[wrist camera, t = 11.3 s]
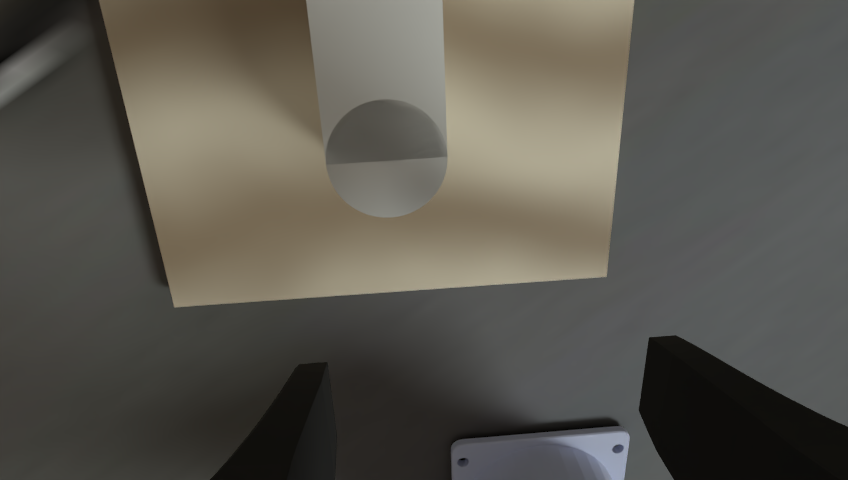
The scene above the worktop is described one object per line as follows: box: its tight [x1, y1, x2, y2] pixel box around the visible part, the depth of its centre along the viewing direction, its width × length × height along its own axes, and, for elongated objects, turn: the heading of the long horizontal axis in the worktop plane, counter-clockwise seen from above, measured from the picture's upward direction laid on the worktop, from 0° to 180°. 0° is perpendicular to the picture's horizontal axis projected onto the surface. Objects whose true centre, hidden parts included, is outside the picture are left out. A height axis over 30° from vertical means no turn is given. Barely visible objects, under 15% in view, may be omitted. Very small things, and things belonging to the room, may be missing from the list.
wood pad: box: [99, 0, 634, 307], centre depth 18 cm, size 18×16×1 cm
